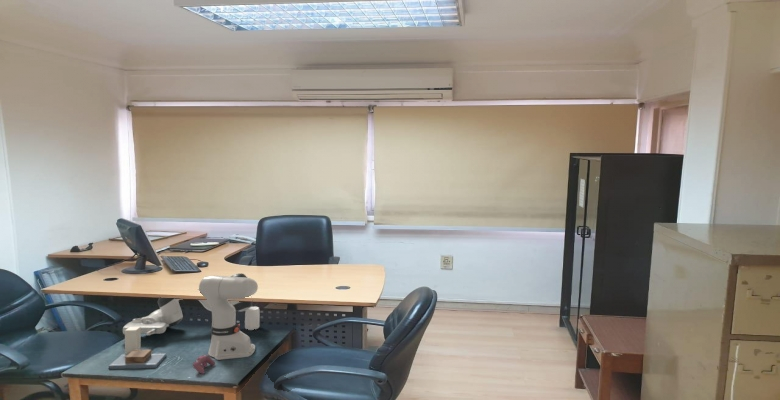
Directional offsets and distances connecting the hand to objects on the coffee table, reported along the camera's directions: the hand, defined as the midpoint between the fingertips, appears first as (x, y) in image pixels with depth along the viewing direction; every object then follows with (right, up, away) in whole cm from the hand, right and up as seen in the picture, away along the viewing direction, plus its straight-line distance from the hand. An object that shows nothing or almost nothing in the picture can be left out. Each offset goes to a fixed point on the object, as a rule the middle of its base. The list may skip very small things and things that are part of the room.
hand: (138, 334), depth 209 cm
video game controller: (+43, -10, -20) cm, 49 cm away
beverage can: (+48, -7, +31) cm, 58 cm away
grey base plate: (+11, -8, -17) cm, 21 cm away
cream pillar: (+1, -7, -6) cm, 9 cm away
